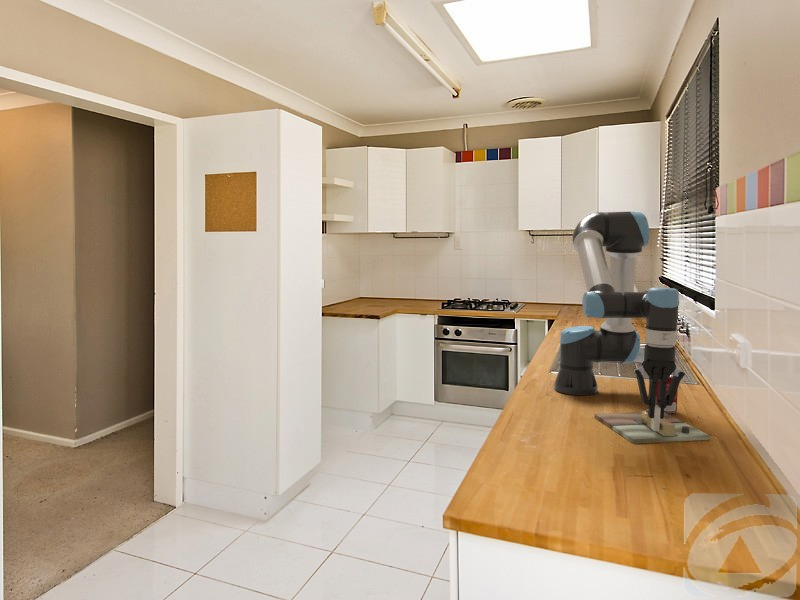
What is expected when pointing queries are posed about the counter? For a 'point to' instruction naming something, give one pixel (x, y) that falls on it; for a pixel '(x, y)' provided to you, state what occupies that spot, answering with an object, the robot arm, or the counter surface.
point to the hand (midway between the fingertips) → (655, 429)
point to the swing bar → (665, 426)
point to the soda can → (673, 407)
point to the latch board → (648, 428)
